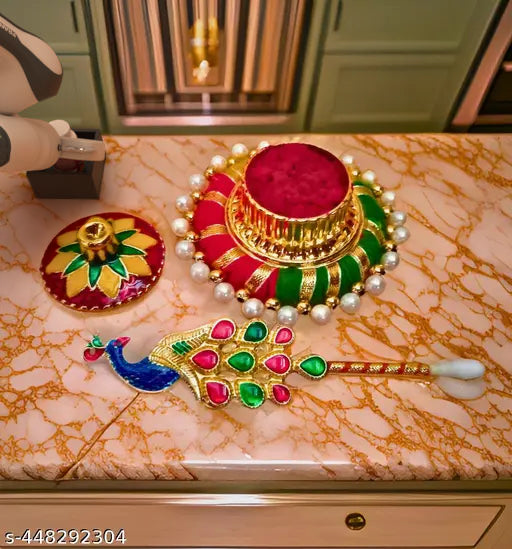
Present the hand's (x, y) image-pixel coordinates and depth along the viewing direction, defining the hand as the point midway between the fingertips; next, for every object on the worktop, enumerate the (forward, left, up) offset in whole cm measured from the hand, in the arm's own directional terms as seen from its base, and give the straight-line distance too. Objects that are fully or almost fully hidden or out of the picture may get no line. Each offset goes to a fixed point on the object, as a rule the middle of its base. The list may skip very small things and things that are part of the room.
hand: (64, 145), depth 114 cm
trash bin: (0, -1, -8) cm, 8 cm away
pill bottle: (0, -1, -6) cm, 6 cm away
